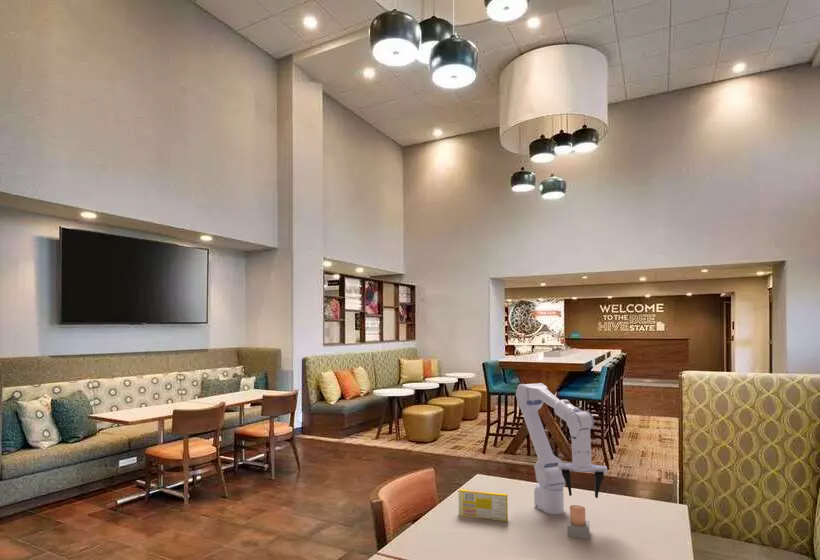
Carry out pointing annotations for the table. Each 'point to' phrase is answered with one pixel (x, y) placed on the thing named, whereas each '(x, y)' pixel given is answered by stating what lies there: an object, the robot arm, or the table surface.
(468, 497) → the candy box
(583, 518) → the clay cylinder
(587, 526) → the tower block
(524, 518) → the table surface
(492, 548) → the table surface
